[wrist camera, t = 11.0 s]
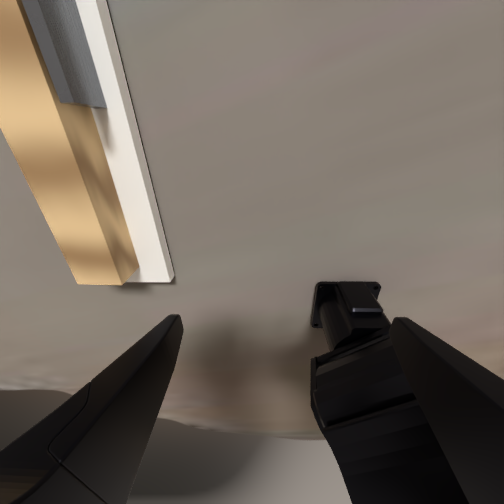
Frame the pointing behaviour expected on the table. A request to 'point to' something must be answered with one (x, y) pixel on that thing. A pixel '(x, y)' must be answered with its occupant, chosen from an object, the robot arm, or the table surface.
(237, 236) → the table surface
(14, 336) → the table surface
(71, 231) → the oak rail
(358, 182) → the table surface
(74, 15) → the bracket plate
